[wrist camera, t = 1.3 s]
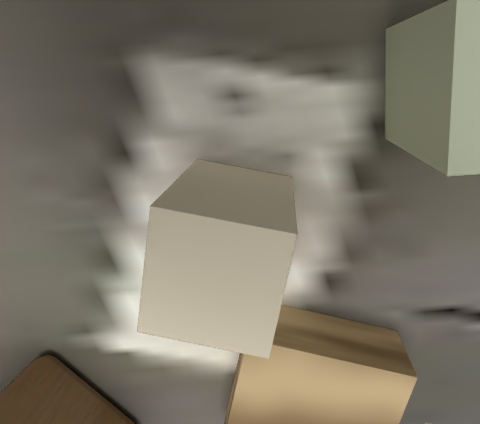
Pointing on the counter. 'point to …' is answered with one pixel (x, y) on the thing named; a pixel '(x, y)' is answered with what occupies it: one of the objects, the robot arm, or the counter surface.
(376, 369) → the oak base
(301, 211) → the counter surface
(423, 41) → the sage block
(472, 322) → the counter surface
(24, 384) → the wooden block
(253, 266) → the cream block
